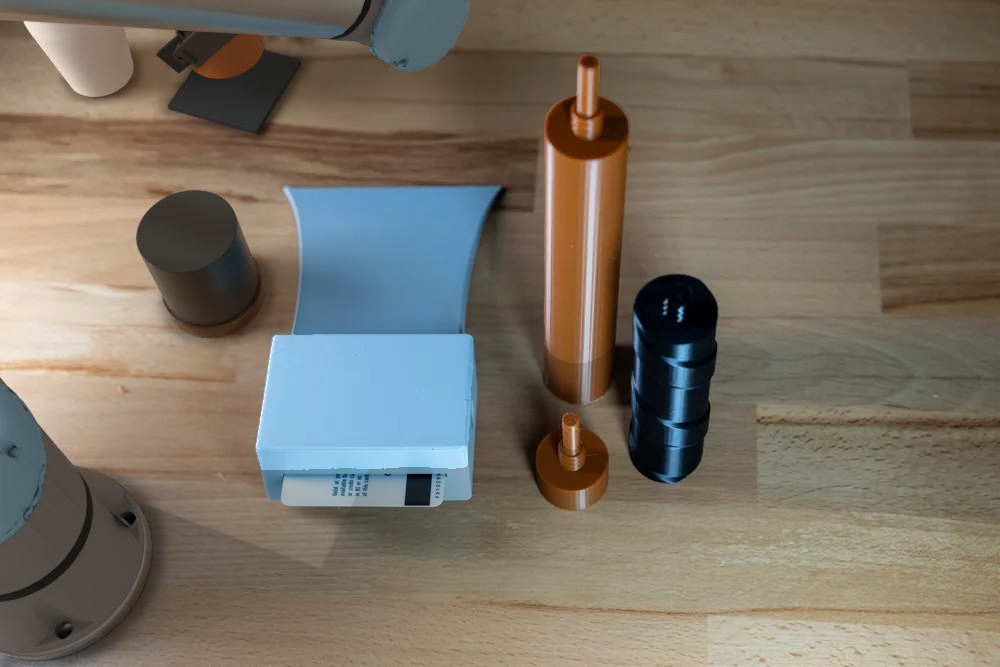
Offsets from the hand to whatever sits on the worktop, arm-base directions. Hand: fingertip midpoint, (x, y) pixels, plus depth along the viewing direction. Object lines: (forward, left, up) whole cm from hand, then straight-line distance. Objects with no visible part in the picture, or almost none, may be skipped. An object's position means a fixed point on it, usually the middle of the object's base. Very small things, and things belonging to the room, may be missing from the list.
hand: (190, 31), depth 114 cm
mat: (0, -3, -6) cm, 7 cm away
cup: (-3, +11, -7) cm, 13 cm away
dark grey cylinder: (-23, -13, -6) cm, 27 cm away
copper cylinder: (0, -4, -1) cm, 4 cm away
